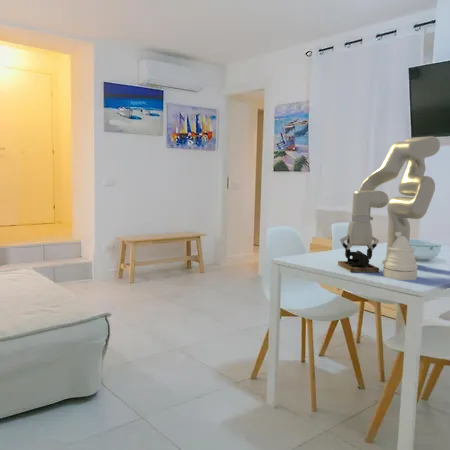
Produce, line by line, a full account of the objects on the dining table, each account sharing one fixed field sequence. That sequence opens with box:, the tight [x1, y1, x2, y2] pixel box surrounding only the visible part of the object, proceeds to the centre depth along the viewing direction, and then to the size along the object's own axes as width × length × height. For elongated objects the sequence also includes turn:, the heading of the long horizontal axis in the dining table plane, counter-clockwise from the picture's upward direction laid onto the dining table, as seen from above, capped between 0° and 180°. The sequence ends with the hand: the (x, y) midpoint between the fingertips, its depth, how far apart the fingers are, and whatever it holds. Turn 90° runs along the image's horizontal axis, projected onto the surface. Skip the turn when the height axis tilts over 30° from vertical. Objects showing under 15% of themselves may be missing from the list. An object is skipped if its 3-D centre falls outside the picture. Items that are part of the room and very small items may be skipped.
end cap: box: [346, 250, 370, 268], centre depth 195 cm, size 10×7×7 cm
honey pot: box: [382, 232, 418, 281], centre depth 180 cm, size 13×13×18 cm
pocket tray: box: [337, 260, 380, 273], centre depth 195 cm, size 12×15×2 cm
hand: (358, 258), depth 194 cm, fingers open, 9 cm apart
